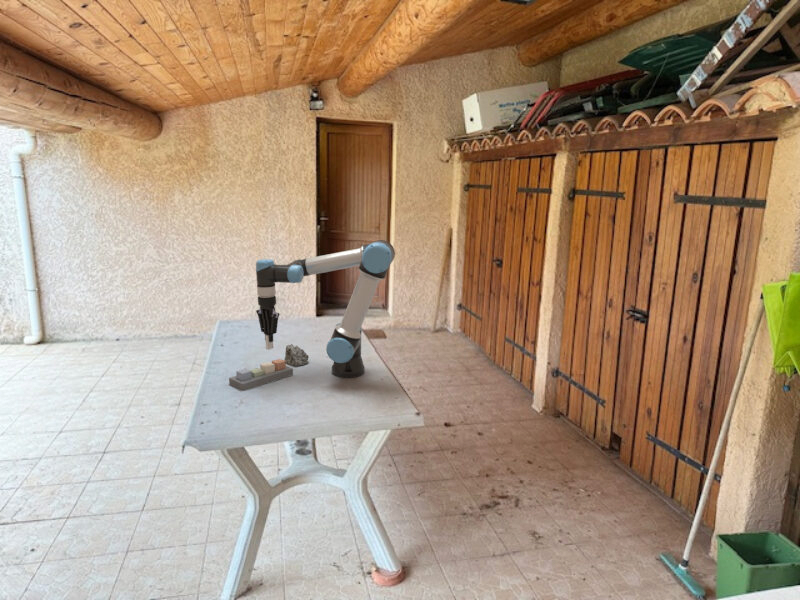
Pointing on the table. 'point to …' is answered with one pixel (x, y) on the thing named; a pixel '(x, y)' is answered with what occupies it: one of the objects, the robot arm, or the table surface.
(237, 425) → the table surface
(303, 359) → the rock
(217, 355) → the table surface
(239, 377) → the key slate
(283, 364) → the key terracotta
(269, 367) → the key cream
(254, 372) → the key sage
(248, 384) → the grey socket tray
